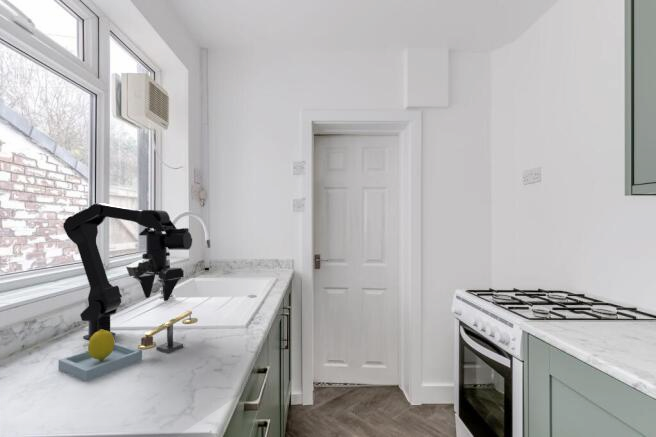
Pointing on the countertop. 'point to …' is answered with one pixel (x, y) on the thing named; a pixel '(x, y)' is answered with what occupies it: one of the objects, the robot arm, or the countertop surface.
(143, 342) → the balance
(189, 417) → the countertop surface
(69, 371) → the dish
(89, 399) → the countertop surface
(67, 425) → the countertop surface
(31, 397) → the countertop surface
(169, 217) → the robot arm
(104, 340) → the lemon
